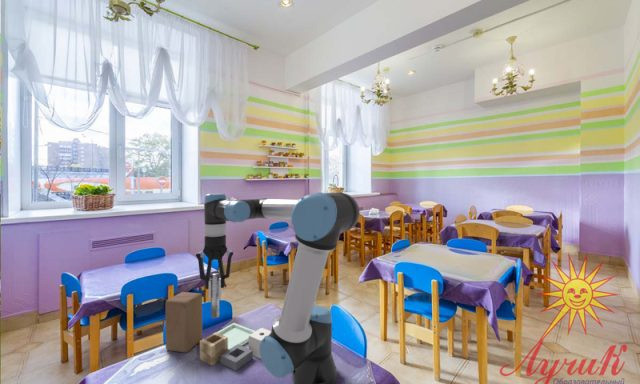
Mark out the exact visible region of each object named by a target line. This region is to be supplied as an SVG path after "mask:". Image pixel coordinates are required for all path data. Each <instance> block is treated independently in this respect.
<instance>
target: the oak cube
mask: <svg viewBox="0 0 640 384" xmlns="http://www.w3.org/2000/svg"><path fill="white" fill-rule="evenodd" d="M217 332H218V331H216V332H213V333H212V334H210V335H208V336H205V338H202V340H200V342H199V360H200V361H202V362H204V363H206V364H208V365H210V366H214V365H216V364H217V363H219V362H221V355H222V354H223V353H225V352H226V351H228V337H226V336H224V335H221V334H219V333H217Z"/></svg>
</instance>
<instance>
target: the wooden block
mask: <svg viewBox="0 0 640 384" xmlns="http://www.w3.org/2000/svg"><path fill="white" fill-rule="evenodd" d="M202 339H203V294H202V293H199V292H198V293H197V292H188V291H181V292H179V293H178V294H175V295H174V296H171V297H170V298H169V299H167V300H166V301H165V349H166V350H167V351H172V352H180V353H188V352H190V351H191V350H192V349H193V348H194V347H195V346H196V345H198V344H200V340H202Z"/></svg>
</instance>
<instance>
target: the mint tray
mask: <svg viewBox="0 0 640 384" xmlns="http://www.w3.org/2000/svg"><path fill="white" fill-rule="evenodd" d="M255 331H256V330H254V329H251V328H249V327H246V326H244V325H240V324H238V323H236V322H233V323H231V324H229V325H227V326H225V327H224V328H222V329H220V330H218V331H216V332H217V333H219V334H221V335H224V336H226V337H228V350H229V349H231V348H232V347H234V346H236V345H237V344H239V345H241V346H243V347H244V345H246V344H247V343H249V335H251V334H252V333H254V332H255Z"/></svg>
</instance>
